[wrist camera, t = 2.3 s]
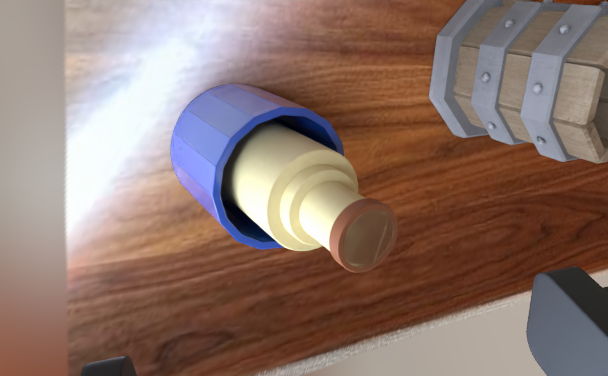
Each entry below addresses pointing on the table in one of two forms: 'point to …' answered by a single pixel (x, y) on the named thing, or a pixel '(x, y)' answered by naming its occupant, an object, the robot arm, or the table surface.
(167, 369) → the table surface
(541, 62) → the tankard
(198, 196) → the blue cup
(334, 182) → the cream bottle
